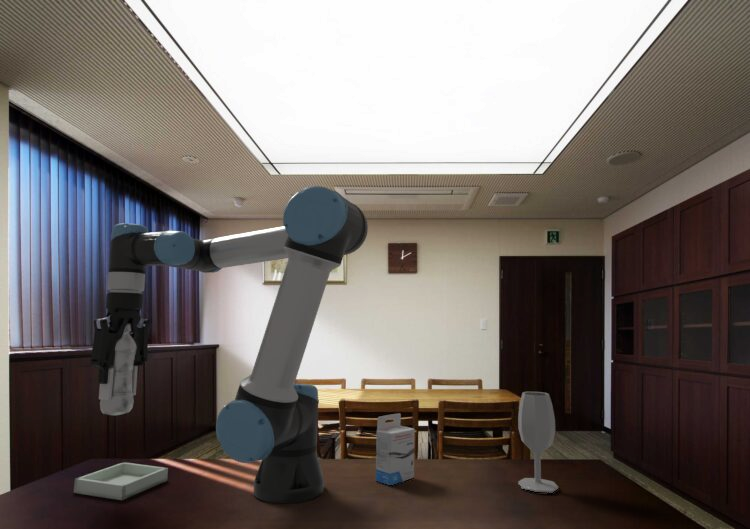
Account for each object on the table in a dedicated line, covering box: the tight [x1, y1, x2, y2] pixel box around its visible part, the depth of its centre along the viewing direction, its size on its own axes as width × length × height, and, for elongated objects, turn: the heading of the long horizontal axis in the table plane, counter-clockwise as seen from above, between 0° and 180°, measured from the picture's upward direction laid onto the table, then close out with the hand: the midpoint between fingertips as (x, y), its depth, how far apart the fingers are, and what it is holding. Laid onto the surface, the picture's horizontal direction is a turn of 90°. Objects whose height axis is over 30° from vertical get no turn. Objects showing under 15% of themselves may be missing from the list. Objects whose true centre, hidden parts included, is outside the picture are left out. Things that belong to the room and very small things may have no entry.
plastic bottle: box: [99, 323, 137, 417], centre depth 106 cm, size 6×7×20 cm
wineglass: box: [517, 391, 559, 494], centre depth 110 cm, size 9×9×21 cm
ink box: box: [375, 412, 416, 486], centre depth 113 cm, size 8×5×15 cm, turn 134°
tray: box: [73, 461, 169, 501], centre depth 106 cm, size 13×13×3 cm
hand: (117, 396), depth 105 cm, fingers closed on plastic bottle, 6 cm apart
